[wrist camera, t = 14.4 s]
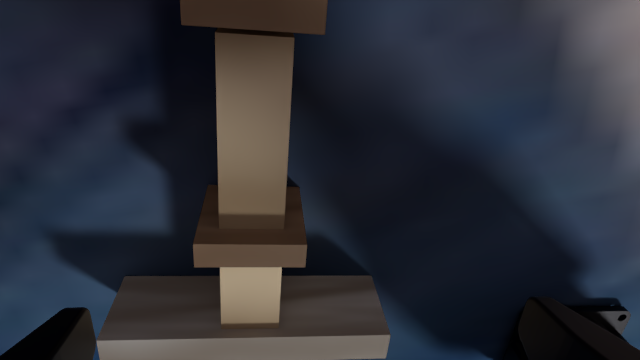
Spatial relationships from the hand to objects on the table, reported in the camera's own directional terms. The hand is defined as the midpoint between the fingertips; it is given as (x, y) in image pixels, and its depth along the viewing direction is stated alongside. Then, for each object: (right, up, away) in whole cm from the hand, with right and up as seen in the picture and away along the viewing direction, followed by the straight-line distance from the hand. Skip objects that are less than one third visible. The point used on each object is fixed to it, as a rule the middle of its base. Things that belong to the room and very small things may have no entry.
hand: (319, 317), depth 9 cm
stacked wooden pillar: (-3, +4, +10) cm, 11 cm away
